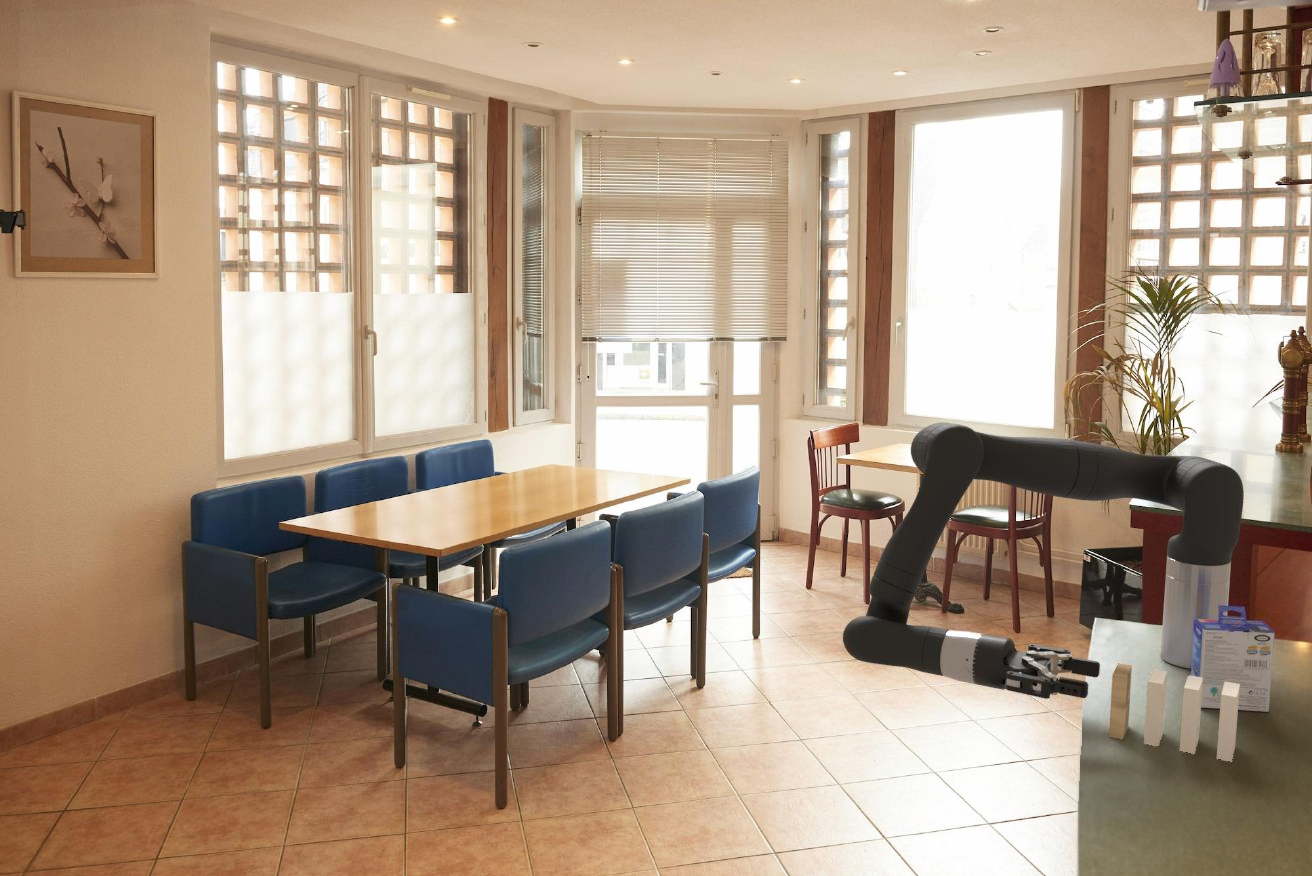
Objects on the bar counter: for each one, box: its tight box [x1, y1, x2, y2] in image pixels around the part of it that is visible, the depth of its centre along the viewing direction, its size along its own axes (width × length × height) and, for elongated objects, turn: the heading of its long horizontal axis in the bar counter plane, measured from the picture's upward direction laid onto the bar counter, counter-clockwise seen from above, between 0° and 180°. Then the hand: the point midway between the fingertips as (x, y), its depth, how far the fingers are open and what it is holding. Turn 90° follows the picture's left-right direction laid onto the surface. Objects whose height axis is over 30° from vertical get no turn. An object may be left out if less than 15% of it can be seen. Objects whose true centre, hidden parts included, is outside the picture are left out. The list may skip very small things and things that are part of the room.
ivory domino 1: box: [1143, 668, 1168, 747], centre depth 146 cm, size 5×2×9 cm, turn 148°
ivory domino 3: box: [1216, 681, 1240, 763], centre depth 142 cm, size 5×2×9 cm, turn 148°
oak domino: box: [1108, 662, 1133, 740], centre depth 148 cm, size 5×2×9 cm, turn 149°
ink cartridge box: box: [1190, 605, 1276, 713], centre depth 157 cm, size 10×6×14 cm, turn 78°
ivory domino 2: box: [1179, 674, 1203, 755], centre depth 144 cm, size 5×2×9 cm, turn 148°
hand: (1093, 679), depth 150 cm, fingers open, 8 cm apart
